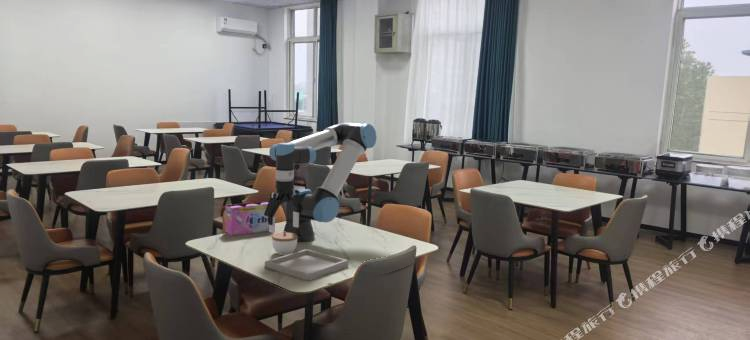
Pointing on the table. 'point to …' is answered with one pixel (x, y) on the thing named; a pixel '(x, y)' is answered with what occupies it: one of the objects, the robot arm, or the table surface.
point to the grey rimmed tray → (306, 264)
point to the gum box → (246, 218)
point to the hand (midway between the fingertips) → (284, 229)
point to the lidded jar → (284, 243)
